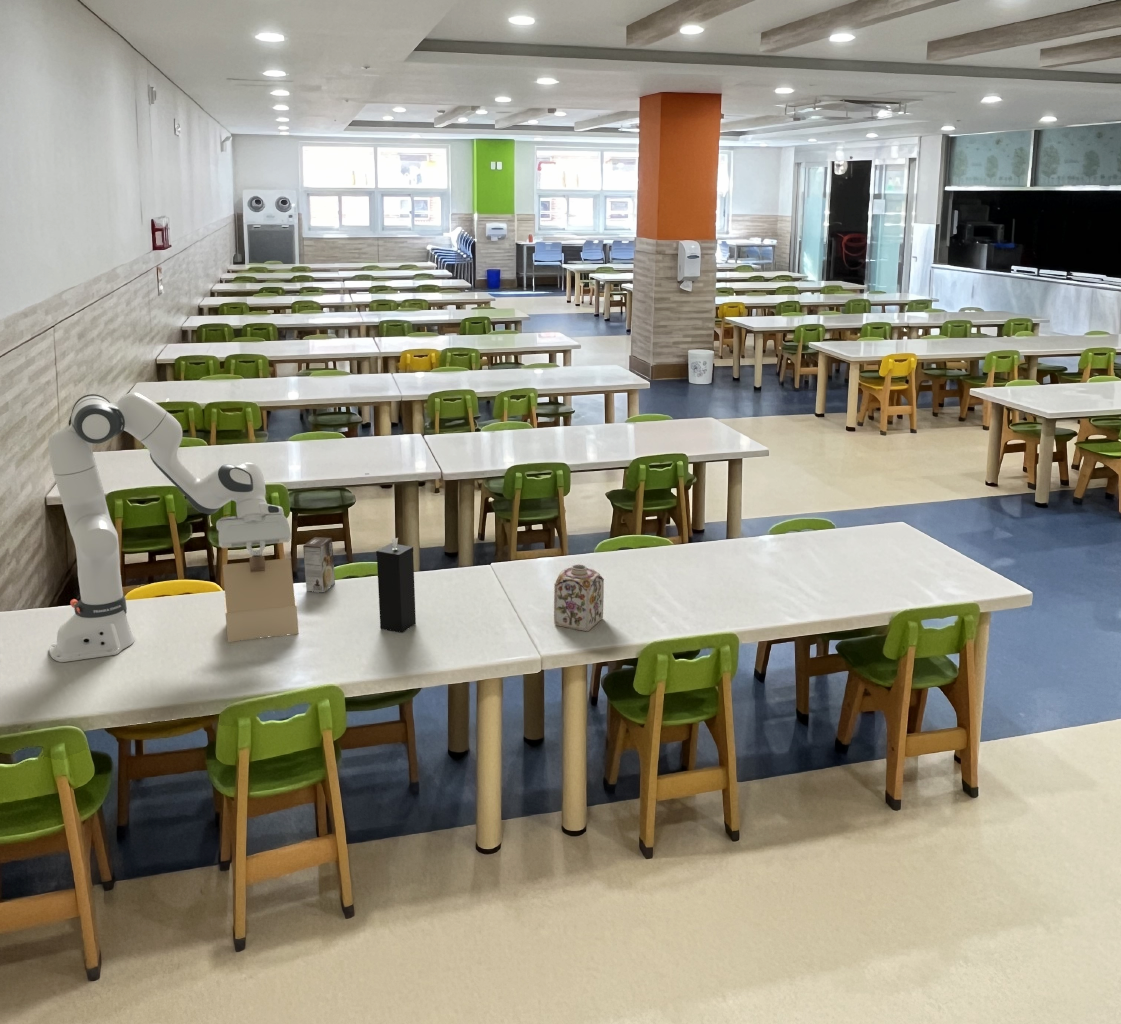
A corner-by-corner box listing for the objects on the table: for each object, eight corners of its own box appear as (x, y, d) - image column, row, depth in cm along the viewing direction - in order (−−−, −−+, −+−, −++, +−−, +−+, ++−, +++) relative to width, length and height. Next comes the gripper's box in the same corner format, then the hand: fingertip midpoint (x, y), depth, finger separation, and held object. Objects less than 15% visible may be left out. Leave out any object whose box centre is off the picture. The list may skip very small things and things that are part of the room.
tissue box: (416, 624, 326) (413, 536, 318) (402, 633, 319) (398, 544, 311) (394, 619, 329) (390, 532, 321) (379, 628, 322) (375, 540, 314)
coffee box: (317, 581, 359) (314, 536, 354) (335, 583, 358) (332, 537, 353) (305, 591, 351) (302, 545, 346) (324, 593, 349) (321, 546, 345)
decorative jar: (552, 625, 325) (553, 569, 320) (569, 612, 335) (569, 557, 330) (589, 632, 321) (589, 575, 315) (604, 618, 331) (605, 563, 325)
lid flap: (226, 613, 310) (226, 608, 302) (222, 565, 313) (221, 559, 304) (295, 605, 316) (296, 601, 307) (290, 558, 318) (291, 553, 310)
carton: (228, 641, 313) (225, 613, 310) (226, 623, 325) (224, 595, 323) (298, 633, 318) (296, 605, 316) (294, 616, 331) (292, 588, 329)
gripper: (214, 513, 310) (218, 556, 304) (287, 506, 316) (292, 549, 310) (216, 523, 315) (219, 565, 309) (287, 517, 321) (292, 558, 315)
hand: (256, 557), depth 310 cm, fingers closed, pressing on lid flap
